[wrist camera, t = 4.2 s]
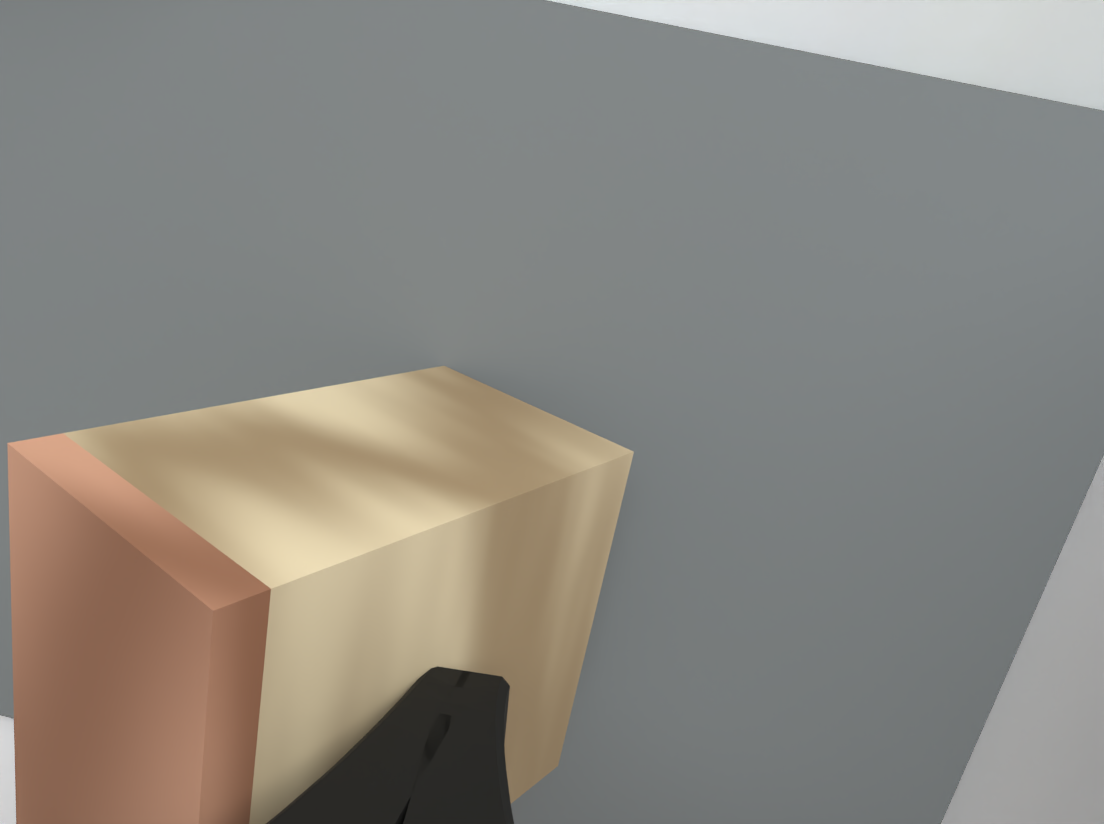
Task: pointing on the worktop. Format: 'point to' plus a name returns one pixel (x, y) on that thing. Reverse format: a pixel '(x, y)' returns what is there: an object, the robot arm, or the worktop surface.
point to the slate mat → (608, 337)
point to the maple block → (292, 589)
